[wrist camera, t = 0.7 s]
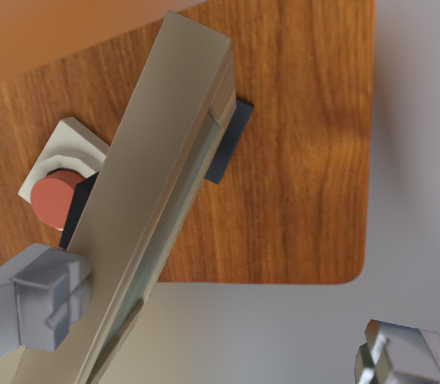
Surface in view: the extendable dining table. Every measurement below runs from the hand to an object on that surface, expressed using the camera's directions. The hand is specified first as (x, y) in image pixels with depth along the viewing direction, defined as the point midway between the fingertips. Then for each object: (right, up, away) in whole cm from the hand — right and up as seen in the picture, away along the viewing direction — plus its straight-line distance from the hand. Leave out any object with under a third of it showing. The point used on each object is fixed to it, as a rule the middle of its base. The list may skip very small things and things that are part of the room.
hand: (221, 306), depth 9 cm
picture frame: (-3, +2, +13) cm, 13 cm away
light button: (-15, +3, +26) cm, 30 cm away
